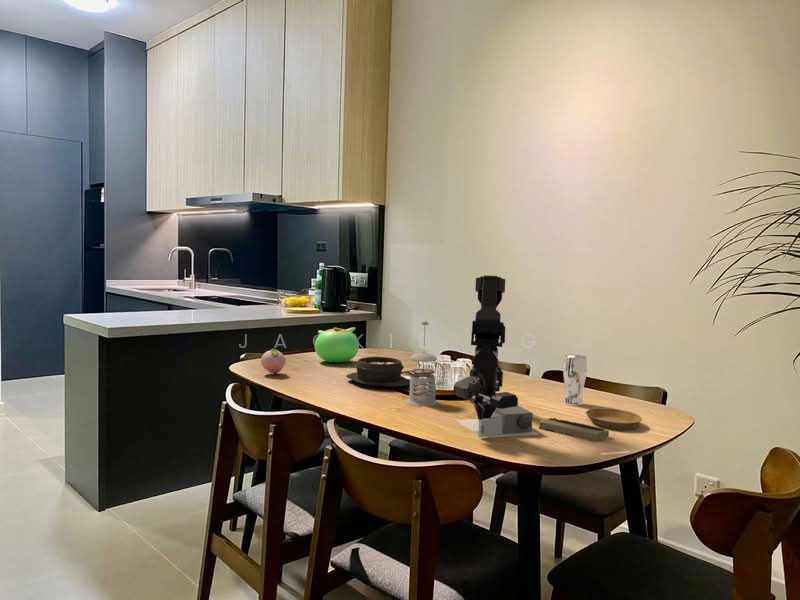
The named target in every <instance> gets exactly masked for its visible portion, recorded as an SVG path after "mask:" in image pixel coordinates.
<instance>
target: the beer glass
mask: <svg viewBox="0 0 800 600" xmlns="http://www.w3.org/2000/svg"><path fill="white" fill-rule="evenodd" d="M587 358H588V357H587V356H584V355H580V354H565V355H564V362H563V382H564V395H563V400H562V403H563V404H565V405H566V406H567V405H568V406H572V407H573V406H574V407H580V406H584V400H583V399H584V398H583V397H584V395H583V392H584V387H585V383H586V377H587V370H588V367H587V366H588V363H587V361H588V359H587Z"/></svg>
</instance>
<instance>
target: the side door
mask: <svg viewBox="0 0 800 600" xmlns="http://www.w3.org/2000/svg"><path fill="white" fill-rule="evenodd" d="M503 424H504V416H497V417H492V418H487V419H482V420H479V431H478V435H477V437H478V438H480V439H483V438H482V437H486V436H491V435H495V434H500V433H503Z"/></svg>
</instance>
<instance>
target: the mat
mask: <svg viewBox="0 0 800 600" xmlns="http://www.w3.org/2000/svg"><path fill="white" fill-rule="evenodd" d="M456 422H458V423H459V424H461V425H462V426H464V427H465V428H467V429H468V430H469V431H470V432H472V433H474V434H476V436H478V431H479V420H478V418H474V419H457V420H456ZM532 435H534V436H535V435H539V433H538V432H537V431H534V430H533V429H532V432H524V433H509V434H503V433H500V434H495V435H491V436H486V437H482V438H481V439H489V438H502V437H504V438H505V437H516V436H519V437H521V436H532Z"/></svg>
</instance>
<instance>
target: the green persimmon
mask: <svg viewBox="0 0 800 600" xmlns="http://www.w3.org/2000/svg"><path fill="white" fill-rule="evenodd" d="M355 330H356V327H354V326H353V327H350V328H347V329H344V328H338V327H333V328H330V329H326V330H320V329H319V330H318V331H317V332H318V334H319V335H318V336H317V337H316V338H315V342H314V350H315V352H316V355H317V356H318V357H319V358H320V359H321V360H323V361H326V362H329V363H333V362H335V363H337V364H339V363H345V362H349V361H351V360H353V359H354V358H355V357H356V356H357V354H358V352H359V349H360V344H359V339H358V337H357V336H356V335H355V334H354V333H353V332H354V331H355Z"/></svg>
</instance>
